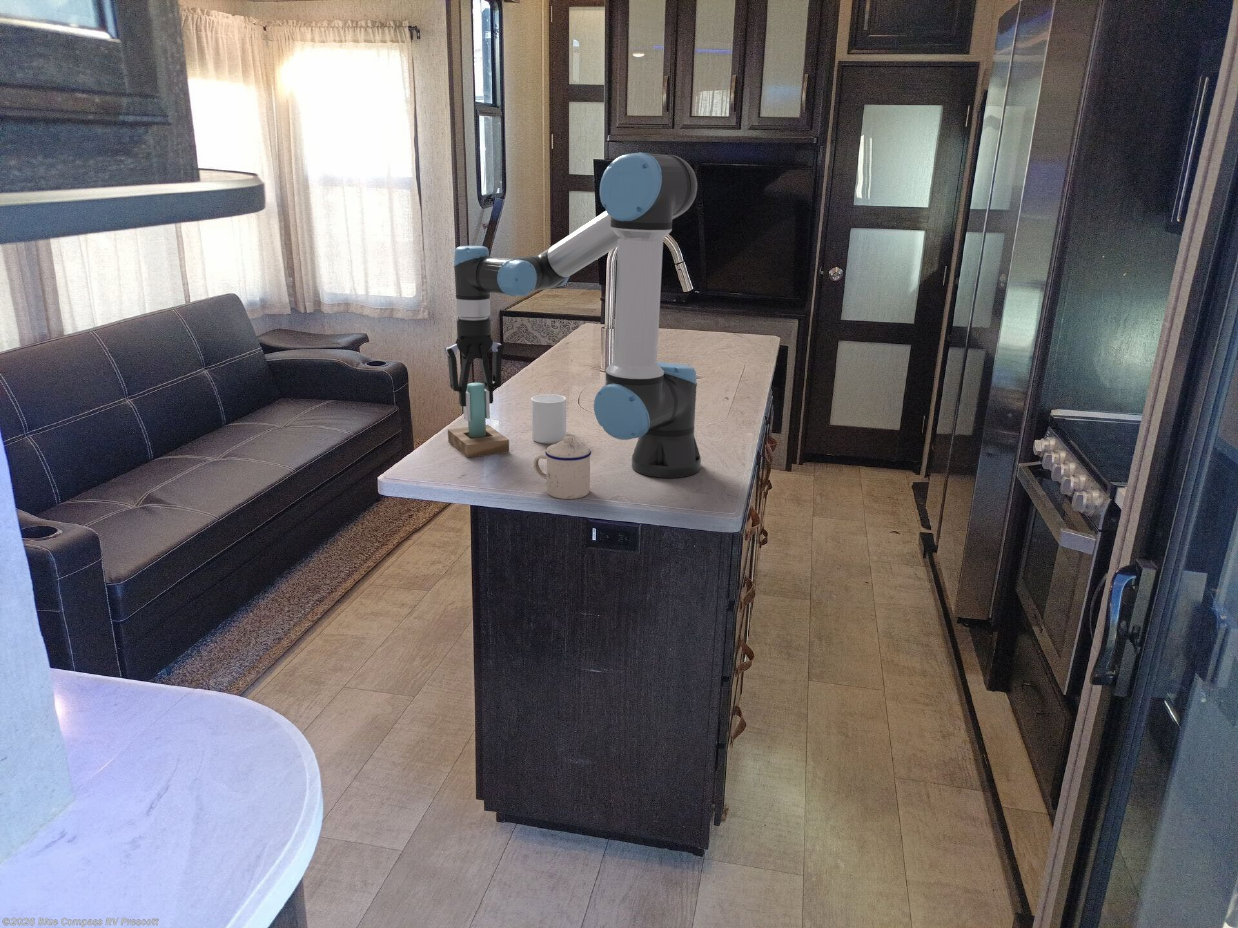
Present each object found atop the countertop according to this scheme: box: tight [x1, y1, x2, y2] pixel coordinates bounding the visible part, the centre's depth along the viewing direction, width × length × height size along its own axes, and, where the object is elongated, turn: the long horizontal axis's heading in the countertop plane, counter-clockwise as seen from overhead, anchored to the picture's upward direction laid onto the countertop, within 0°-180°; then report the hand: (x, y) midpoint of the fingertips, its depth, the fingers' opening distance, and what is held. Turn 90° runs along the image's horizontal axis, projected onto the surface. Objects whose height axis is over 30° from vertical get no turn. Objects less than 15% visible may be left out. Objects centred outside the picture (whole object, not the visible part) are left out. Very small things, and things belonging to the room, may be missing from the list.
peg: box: [467, 382, 487, 437], centre depth 202 cm, size 4×4×12 cm
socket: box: [447, 424, 510, 459], centre depth 204 cm, size 14×10×3 cm
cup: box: [530, 393, 567, 445], centre depth 212 cm, size 8×12×10 cm
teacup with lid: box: [533, 435, 592, 500], centre depth 175 cm, size 12×9×12 cm
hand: (476, 418), depth 202 cm, fingers closed on peg, 4 cm apart
